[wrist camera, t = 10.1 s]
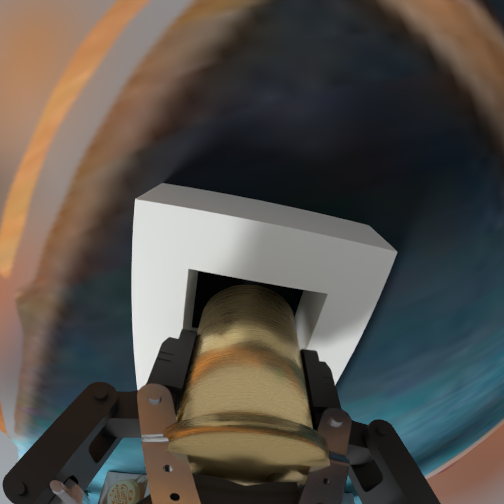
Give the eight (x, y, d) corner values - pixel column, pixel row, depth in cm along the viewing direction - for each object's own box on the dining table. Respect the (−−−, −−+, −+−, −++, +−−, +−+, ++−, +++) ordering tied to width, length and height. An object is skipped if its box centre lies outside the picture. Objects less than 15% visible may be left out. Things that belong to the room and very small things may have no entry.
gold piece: (315, 288, 14) (364, 445, 6) (285, 368, 17) (298, 506, 8) (200, 267, 14) (144, 424, 6) (190, 353, 16) (156, 491, 8)
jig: (368, 225, 16) (397, 251, 12) (277, 437, 25) (278, 470, 21) (162, 183, 15) (135, 199, 12) (155, 418, 24) (146, 450, 20)
